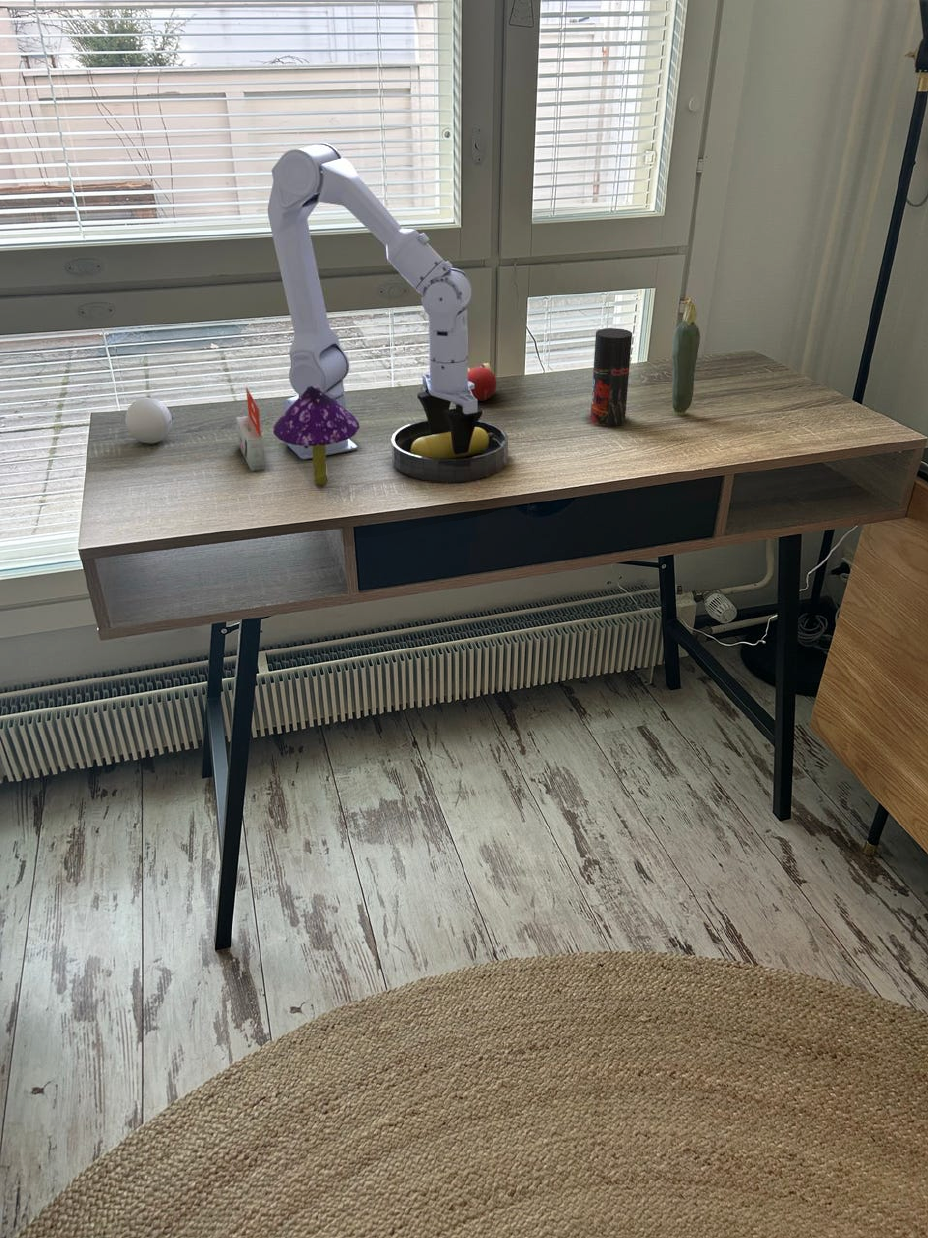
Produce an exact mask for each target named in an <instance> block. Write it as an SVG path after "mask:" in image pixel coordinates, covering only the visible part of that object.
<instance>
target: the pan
mask: <svg viewBox="0 0 928 1238" xmlns="http://www.w3.org/2000/svg"><path fill="white" fill-rule="evenodd" d="M475 427H479V428H482V429H483V430H485V431H486V433H487V434H488V433H493V435H494V437H493V438H492V439H489V444H488V447H487V449H486V450H485V451H484V452H482V453H479V454H475V455H470V456H465V457H461V458H456V459H435V458H426V457H421V456H417V455H413V454H411V446H412V444H413V442H414V441H415V440H416V439H418V438H421V437H425V436H430V435H432V434H431V431H430V427H429V423H428V419H424V420H419V421H415V422H412V423H409V424H406V425H404V426H402V427H400V428H398V429H397V430H396V431H395V432H394V433H393V434H392V437H391V440H390V443H391V460H392V464H393V466H394V468H396V469H397V470H398V471H399V472H401V473H403V474H404V475H407V476H409V477H411V478H413V479H417V480H420V481H425V482H427V481H428V482H432V483H446V484H447V483H465V482H472V481H477V480H481V479H483V478H487V477H490V476H492V475H494V474H496V473H497V472H499V471H501V470H502V469H504V467H505V466H506V465H507V463H508V459H509V458H508V454H509V453H508V452H509V435H508V434H507V432H506V431H505V430H504V429H502V428H501V427H500V426H498V425H495V424H493V423H491V422H489V421H484V420H480V419H479V420H478V422H477V424H476V426H475ZM447 432H451V431H450V427H449V424H448V423H447Z"/></svg>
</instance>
